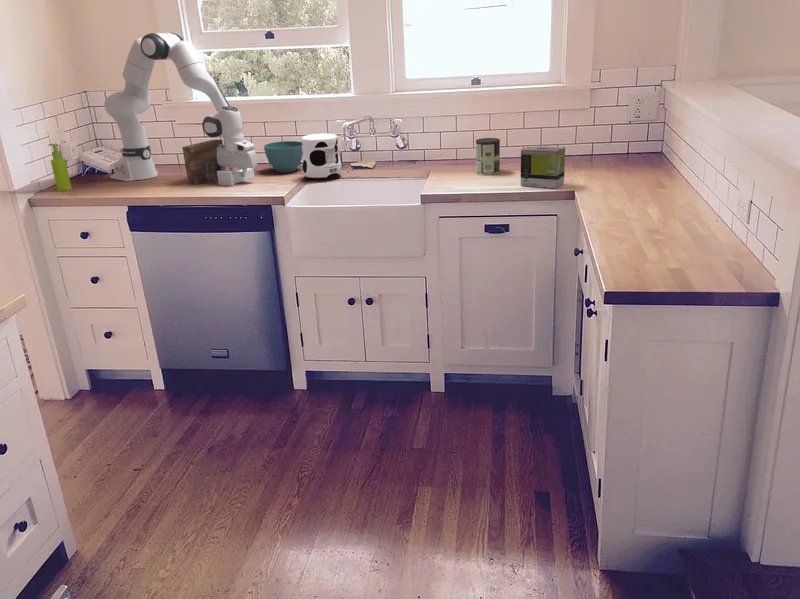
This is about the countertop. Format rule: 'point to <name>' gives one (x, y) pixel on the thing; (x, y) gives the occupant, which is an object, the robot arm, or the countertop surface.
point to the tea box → (542, 166)
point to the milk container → (320, 156)
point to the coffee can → (488, 156)
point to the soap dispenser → (60, 170)
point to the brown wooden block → (202, 161)
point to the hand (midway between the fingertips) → (238, 176)
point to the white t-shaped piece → (233, 177)
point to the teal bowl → (284, 155)
